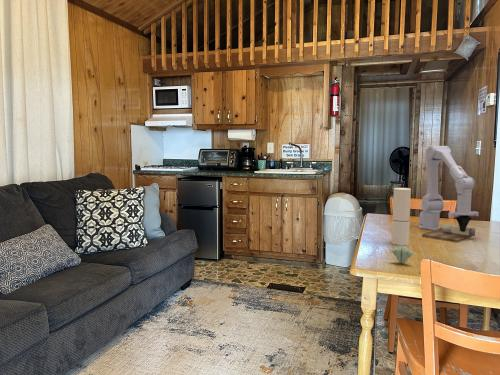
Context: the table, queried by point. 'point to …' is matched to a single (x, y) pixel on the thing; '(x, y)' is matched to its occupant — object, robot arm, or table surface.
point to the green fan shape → (402, 254)
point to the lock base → (445, 235)
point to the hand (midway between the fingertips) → (462, 231)
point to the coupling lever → (458, 230)
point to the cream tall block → (401, 216)
